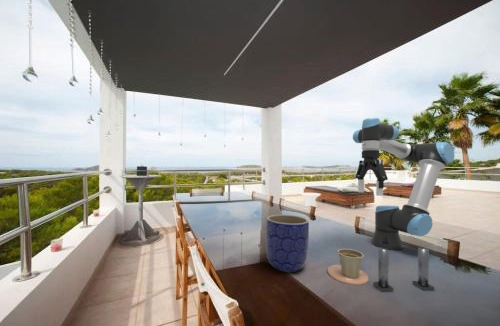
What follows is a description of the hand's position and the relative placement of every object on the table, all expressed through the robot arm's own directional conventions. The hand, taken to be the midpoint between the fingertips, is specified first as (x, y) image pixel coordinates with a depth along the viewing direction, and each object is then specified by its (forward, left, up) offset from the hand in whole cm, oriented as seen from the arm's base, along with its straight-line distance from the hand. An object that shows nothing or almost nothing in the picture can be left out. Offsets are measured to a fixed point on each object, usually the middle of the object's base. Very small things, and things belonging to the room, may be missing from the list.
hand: (369, 194), depth 105 cm
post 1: (+11, +24, -32) cm, 41 cm away
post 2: (-5, +24, -32) cm, 40 cm away
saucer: (+19, +14, -32) cm, 40 cm away
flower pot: (+19, +16, -31) cm, 39 cm away
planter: (+42, +5, -32) cm, 53 cm away
